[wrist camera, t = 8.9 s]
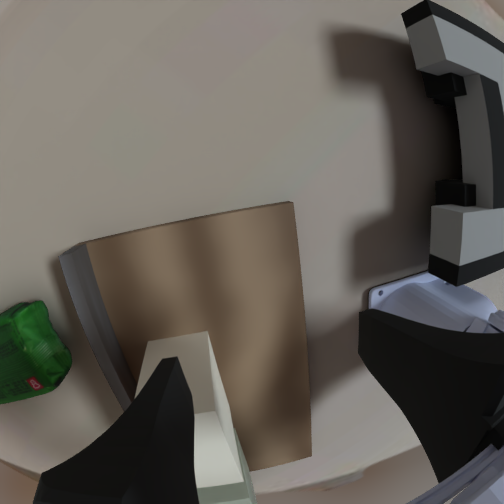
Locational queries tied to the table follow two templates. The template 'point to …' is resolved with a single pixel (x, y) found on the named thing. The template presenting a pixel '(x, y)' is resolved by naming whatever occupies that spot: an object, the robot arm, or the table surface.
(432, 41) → the game console
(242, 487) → the sage carton
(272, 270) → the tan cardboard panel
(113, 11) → the table surface
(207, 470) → the cream carton
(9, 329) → the snack package
